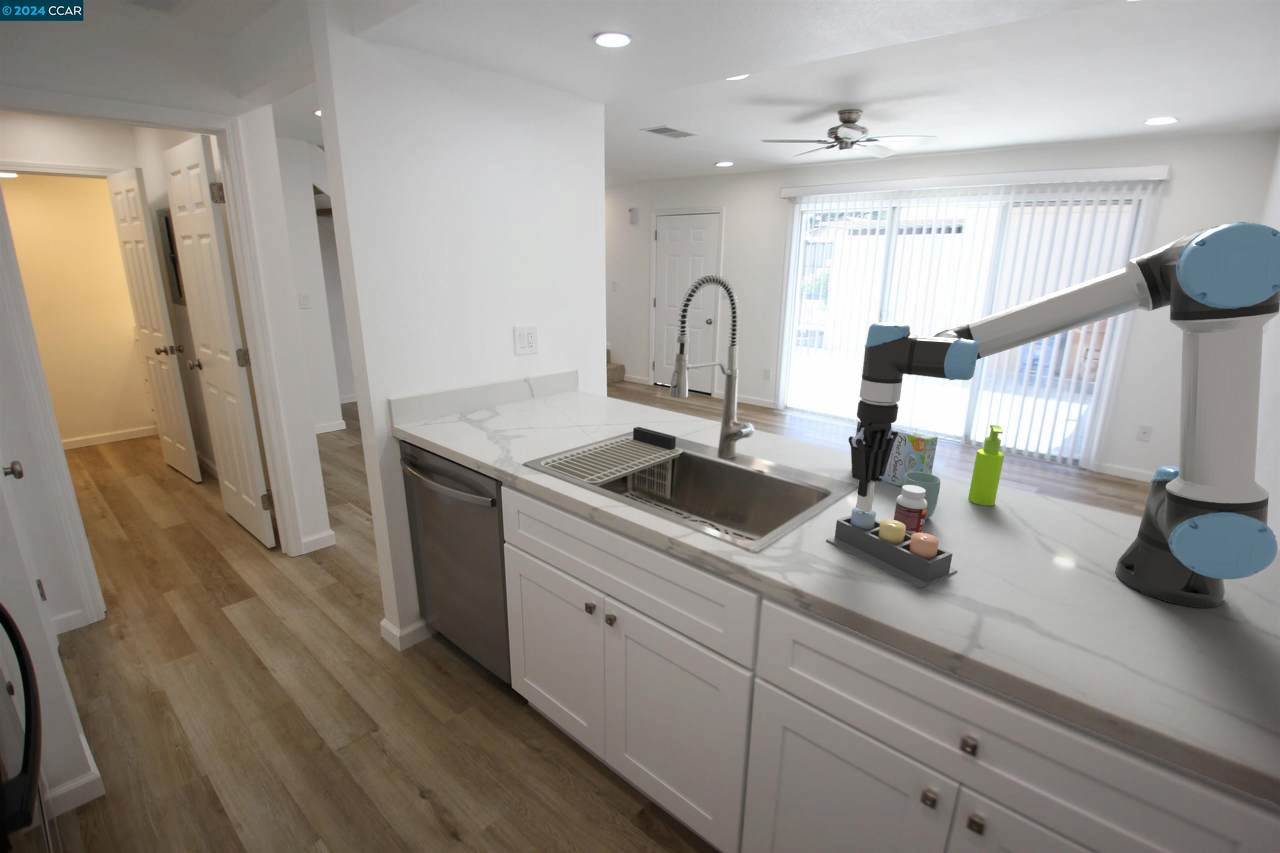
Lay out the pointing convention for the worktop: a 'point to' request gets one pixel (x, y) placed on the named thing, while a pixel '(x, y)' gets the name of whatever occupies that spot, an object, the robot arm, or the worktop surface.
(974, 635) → the worktop surface
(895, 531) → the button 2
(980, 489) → the soap dispenser
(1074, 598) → the worktop surface
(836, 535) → the grey compartment tray
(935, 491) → the cup
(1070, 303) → the robot arm
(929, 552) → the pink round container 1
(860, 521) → the light blue block
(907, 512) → the pill bottle
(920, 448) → the snack box
